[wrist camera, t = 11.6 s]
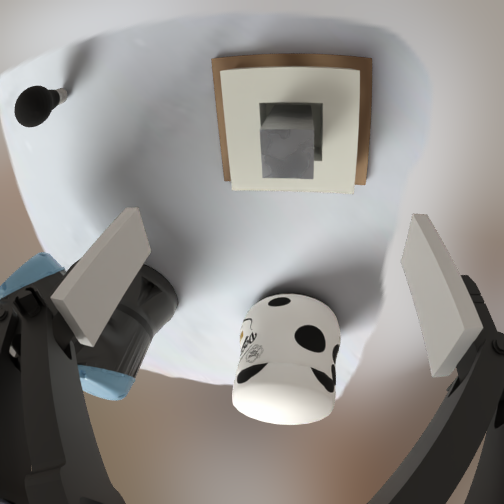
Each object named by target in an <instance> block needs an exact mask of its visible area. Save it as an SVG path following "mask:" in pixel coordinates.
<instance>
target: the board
mask: <svg viewBox="0 0 504 504" xmlns="http://www.w3.org/2000/svg"><path fill="white" fill-rule="evenodd" d="M211 60H212V71H213V81H214V90H215V100H216V110H217V119H218V128H219V137H220V146H221V155H222V164H223V172H224V181H231V175H230V166H229V157H228V147H227V137H226V128H225V118H224V108H223V98H222V87H221V77H220V71H223V70H228V69H233V68H246V67H265V66H319V67H338V68H351V69H355V70H359V71H360V102H359V129H358V147H357V161H356V174H355V185H365V184H366V175H367V165H368V153H369V140H370V125H371V103H372V58H365V57H356V56H344V55H329V54H259V55H243V56H232V57H222V58H213V59H211Z"/></svg>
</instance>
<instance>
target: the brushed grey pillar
mask: <svg viewBox="0 0 504 504" xmlns="http://www.w3.org/2000/svg"><path fill="white" fill-rule="evenodd" d="M260 144H261V161H262V178H290V179H314V125H313V117H312V110H311V105H274V107H273V108H272V110H271V112H270V113H269V115H268V116H267V118H266V120H265V121H264V123H263V125H262V126H261V128H260Z"/></svg>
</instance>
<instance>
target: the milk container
mask: <svg viewBox="0 0 504 504" xmlns="http://www.w3.org/2000/svg"><path fill="white" fill-rule="evenodd" d="M340 340H341V336H340V328H339V324H338V321H337V318H336V316H335V314H334V313H333V311H332V310H331V309H330V308H329V307H328V306H327V305H326V304H324V303H323V302H321V301H319V300H318V299H316V298H313V297H310V296H306V295H302V294H295V293H284V294H276V295H273V296H269V297H266V298H264V299H262V300H260V301H259V302H257V303H256V304H255V305H254V306H253V307H252V308H251V309H250V310H249V311H248V313H247V315H246V317H245V319H244V321H243V324H242V326H241V331H240V348H241V355H240V360H239V364H238V368H237V371H236V378H235V380H234V384H233V392H232V398H233V405H234V406H235V407H236V408H237V409H238V410H239V411H240V412H242V413H243V414H245V415H247V416H249V417H251V418H254V419H257V420H260V421H264V422H269V423H275V424H286V425H287V424H288V425H296V424H307V423H311V422H315V421H319V420H321V419H323V418H325V417H326V416H328V415H329V414H330V413H331V411H332V410H333V408H334V403H335V393H336V392H335V385H336V372H335V363H336V358H337V354H338V351H339V347H340Z"/></svg>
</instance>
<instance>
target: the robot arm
mask: <svg viewBox="0 0 504 504" xmlns="http://www.w3.org/2000/svg"><path fill="white" fill-rule="evenodd" d="M150 253H151V248H150V245H149V242H148V238H147V235H146V232H145V228H144V225H143V222H142V218H141V215H140V211H139V207H133V208H125V210H124V211H123V212H122V213H121V214H120V215H119V216H118V217H117V218H116V219H115V220H114V221H113V222H112V224H111V225H110V226H109V227H108V228H107V229H106V230H105V231H104V232H103V233H102V235H101V236H100V237H99V238H98V239H97V240H96V241H95V243H94V244H93V245H92V246H91V247H90V248H89V250H88V251H87V252H86V253H85V254H84V255H83V257H82V258H81V259H79V260H78V261H77V262H75V263H74V264H73V265H72V266H71V267H70V268H69V269H68V271H67V272H66V271H65V268H64V267H62V266H61V265H60V264H59V263H58V262H57V261H56V260H55V259H54V258H53V257H52V256H51V255H50V254H48V253H46V252H41V253H38V254H36V255H35V256H33V258H31V259H29V260H28V261H27V262H26V263H25V264H23V265H22V266H21V267H20V268H19V269H18V270H16V271H15V272H14V273H13V274H12V275H11V276H10V277H9V278H8V279H7V280H6V281H5V282H4V283H3V284H2V285H1V286H0V504H126V503H125V501H124V500H123V498H122V496H121V495H120V494H119V492H118V491H117V490H116V489H115V488H114V487H113V485H112V484H111V482H110V480H109V477H108V475H107V472H106V469H105V467H104V464H103V461H102V458H101V455H100V452H99V449H98V446H97V443H96V440H95V436H94V433H93V429H92V426H91V423H90V419H89V415H88V411H87V407H86V403H85V399H84V394H83V391H85V392H87V393H90V394H92V395H95V396H97V397H101V398H104V399H108V400H121V399H123V398H124V397H126V395H127V394H128V392H129V390H130V388H131V386H132V385H133V383H134V382H135V378H136V375H137V373H138V371H139V368H140V366H141V364H142V361H143V359H144V357H145V354H146V352H147V350H148V347H149V345H150V343H151V341H152V338H153V336H154V335H155V334H156V333H157V332H158V331H159V330H160V329H161V328H162V327H163V326H164V325H165V324H166V323H167V322H168V321H169V320H170V319H171V318H172V317H173V315H174V312H175V310H176V308H177V304H178V301H177V296H176V293H175V291H174V289H173V287H172V286H171V285H170V283H169V282H168V281H167V280H166V279H165V278H164V277H163V276H162V275H161V274H159V273H158V272H157V271H155V270H153V269H152V268H150V267H148V266H146V265H143V264H144V262H145V260H146V259H147V257H148V256H149V254H150ZM401 264H402V267H403V269H404V273H405V276H406V278H407V281H408V285H409V288H410V291H411V295H412V298H413V301H414V305H415V308H416V312H417V315H418V319H419V323H420V327H421V331H422V334H423V338H424V342H425V347H426V351H427V356H428V360H429V365H430V370H431V374H432V377H442V376H449V375H450V374H451V373H452V372H453V370H454V369H455V368H457V372H458V377H457V378H456V379H455V380H454V381H453V383H452V384H451V385H450V386H449V387H448V388H447V391H448V393H447V395H446V397H445V399H444V400H443V402H442V404H441V405H440V407H439V409H438V411H437V412H436V414H435V415H434V417H433V419H432V420H431V422H430V423H429V425H428V427H427V428H426V430H425V431H424V433H423V434H422V436H421V437H420V438H419V440H418V442H417V443H416V444H415V446H414V447H413V448H412V450H411V451H410V453H409V454H408V455H407V457H406V458H405V459H404V461H403V462H402V463H401V464H400V466H399V467H398V468H397V470H396V471H395V472H394V473H393V475H392V476H391V477H390V478H389V479H388V481H387V482H386V483H385V484H384V485H383V486H382V488H381V489H380V490H379V491H378V492H377V493H376V494H375V496H374V497H373V498H372V499H371V500H370V501H369V502H368V503H367V504H446V502H447V501H448V499H449V498H450V496H451V494H452V493H453V492H454V490H455V488H456V487H457V485H458V483H459V482H460V480H461V478H462V477H463V475H464V473H465V472H466V470H467V468H468V467H469V465H470V463H471V461H472V459H473V457H474V456H475V453H476V452H477V449H478V448H479V446H480V444H481V442H482V440H483V438H484V435H485V433H486V431H487V433H486V437H485V441H484V445H483V449H482V453H481V456H480V460H479V463H478V466H477V470H476V473H475V476H474V479H473V482H472V485H471V487H470V490H469V493H468V496H467V498H466V501H465V503H464V504H504V334H503V333H501V332H497V330H496V327H495V325H494V322H493V320H492V318H491V315H490V313H489V311H488V308H487V306H486V304H484V300H483V298H482V296H481V293H480V291H479V289H478V287H477V286H476V284H475V283H474V281H473V280H472V279H471V278H470V277H469V276H468V275H460V273H459V271H458V269H457V267H456V265H455V264H454V262H453V260H452V258H451V256H450V254H449V252H448V250H447V248H446V247H445V245H444V243H443V241H442V239H441V238H440V236H439V234H438V232H437V230H436V229H435V227H434V225H433V224H432V222H431V220H430V219H429V217H428V215H424V214H412V219H411V223H410V228H409V232H408V236H407V240H406V244H405V248H404V252H403V256H402V259H401ZM31 466H32V472H31Z"/></svg>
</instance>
